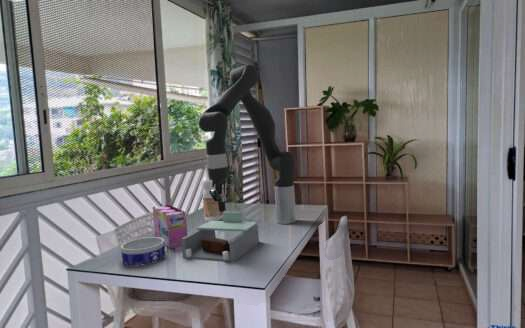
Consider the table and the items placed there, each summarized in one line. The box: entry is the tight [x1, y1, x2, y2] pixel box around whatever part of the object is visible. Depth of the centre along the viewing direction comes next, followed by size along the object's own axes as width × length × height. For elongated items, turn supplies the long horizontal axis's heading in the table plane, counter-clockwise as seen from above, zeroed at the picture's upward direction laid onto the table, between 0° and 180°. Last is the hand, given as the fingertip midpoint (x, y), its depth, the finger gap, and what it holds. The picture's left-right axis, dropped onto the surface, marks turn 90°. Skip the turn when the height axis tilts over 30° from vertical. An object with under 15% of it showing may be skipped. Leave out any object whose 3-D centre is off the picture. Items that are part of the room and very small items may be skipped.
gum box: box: [152, 203, 188, 249], centre depth 157 cm, size 24×8×14 cm, turn 31°
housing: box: [181, 223, 260, 262], centre depth 140 cm, size 24×21×7 cm
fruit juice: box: [201, 164, 223, 222], centre depth 188 cm, size 9×9×28 cm
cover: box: [196, 211, 258, 232], centre depth 145 cm, size 10×21×5 cm, turn 68°
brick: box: [202, 237, 230, 255], centre depth 136 cm, size 11×4×5 cm, turn 55°
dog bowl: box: [120, 236, 166, 266], centre depth 137 cm, size 15×15×6 cm
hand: (222, 211), depth 140 cm, fingers closed
